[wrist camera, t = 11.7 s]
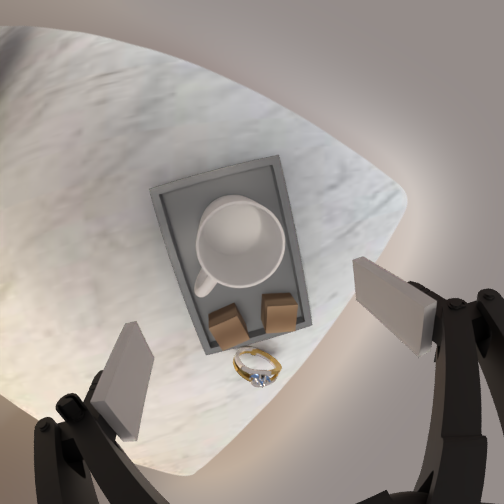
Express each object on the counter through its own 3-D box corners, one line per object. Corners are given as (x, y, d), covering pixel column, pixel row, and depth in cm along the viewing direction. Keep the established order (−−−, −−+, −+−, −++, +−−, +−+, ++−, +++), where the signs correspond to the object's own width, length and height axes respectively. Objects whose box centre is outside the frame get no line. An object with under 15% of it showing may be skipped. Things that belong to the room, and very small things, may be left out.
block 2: (261, 293, 38) (267, 306, 34) (289, 292, 39) (298, 304, 35) (260, 319, 39) (266, 333, 35) (287, 317, 40) (295, 331, 36)
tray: (153, 188, 33) (149, 189, 31) (274, 156, 34) (278, 154, 32) (205, 345, 40) (206, 355, 38) (307, 317, 41) (312, 325, 39)
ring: (228, 351, 41) (233, 385, 33) (236, 335, 40) (243, 367, 33) (268, 361, 42) (279, 394, 35) (277, 346, 42) (290, 378, 34)
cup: (277, 218, 36) (302, 235, 26) (223, 291, 37) (229, 330, 28) (225, 180, 33) (231, 182, 24) (171, 258, 35) (158, 288, 25)
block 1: (208, 313, 38) (208, 328, 34) (234, 302, 38) (237, 316, 34) (221, 335, 39) (222, 350, 35) (246, 324, 39) (250, 339, 35)
